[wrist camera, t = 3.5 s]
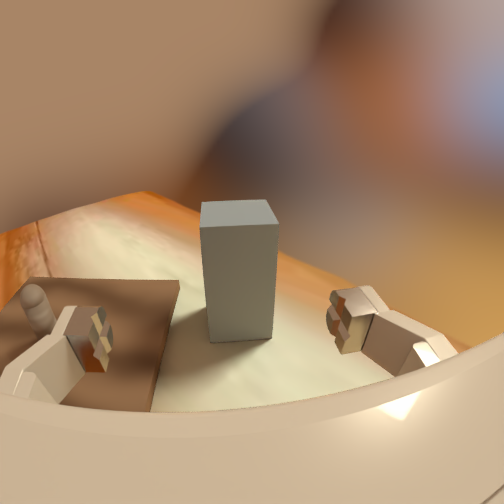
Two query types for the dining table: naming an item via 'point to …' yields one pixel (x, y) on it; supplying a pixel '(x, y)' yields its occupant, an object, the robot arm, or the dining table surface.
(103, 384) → the walnut base
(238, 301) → the tall grey rectangular prism
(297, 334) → the dining table surface
